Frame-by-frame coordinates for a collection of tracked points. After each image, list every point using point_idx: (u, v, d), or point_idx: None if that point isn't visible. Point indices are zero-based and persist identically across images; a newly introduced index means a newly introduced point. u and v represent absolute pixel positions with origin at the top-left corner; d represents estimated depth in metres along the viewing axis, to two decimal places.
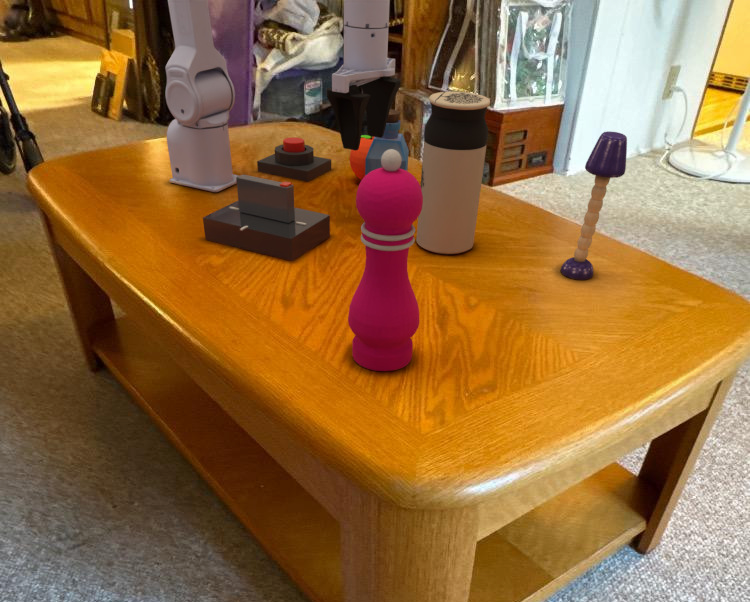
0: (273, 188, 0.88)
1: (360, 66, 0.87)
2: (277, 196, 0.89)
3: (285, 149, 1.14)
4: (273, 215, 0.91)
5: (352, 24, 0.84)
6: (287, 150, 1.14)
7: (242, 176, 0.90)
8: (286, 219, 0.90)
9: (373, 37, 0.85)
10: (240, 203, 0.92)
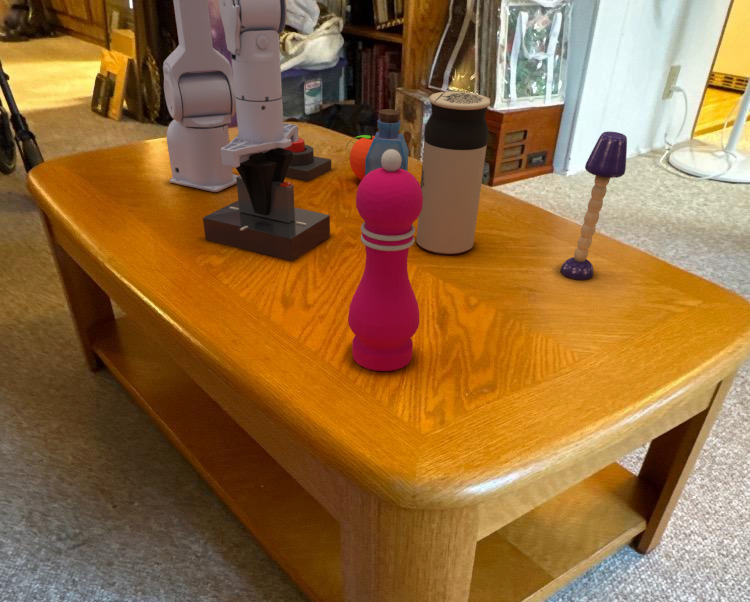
0: (273, 188, 0.88)
1: (253, 138, 0.83)
2: (277, 196, 0.89)
3: None
4: (273, 215, 0.91)
5: (234, 94, 0.82)
6: None
7: None
8: (286, 219, 0.90)
9: (264, 110, 0.81)
10: (240, 203, 0.92)
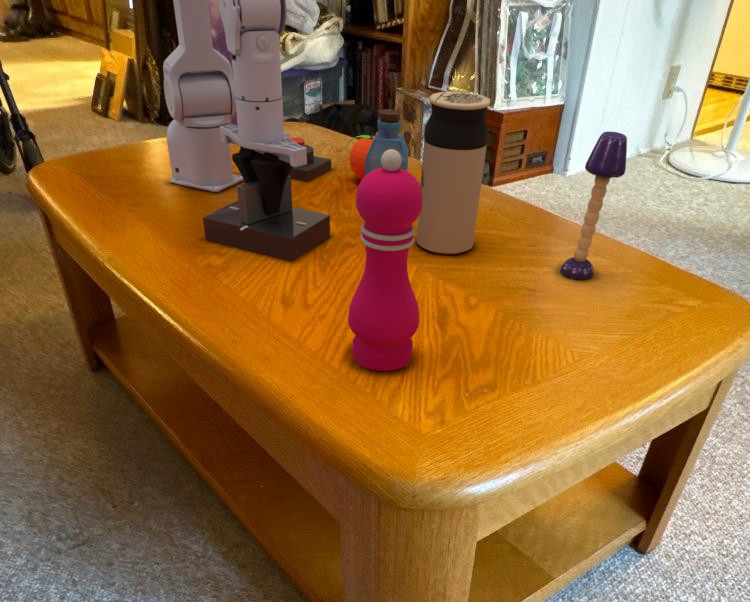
0: None
1: (280, 136, 0.84)
2: None
3: None
4: (279, 210, 0.92)
5: (235, 94, 0.82)
6: None
7: (244, 186, 0.87)
8: (290, 207, 0.93)
9: (281, 105, 0.83)
10: (249, 214, 0.89)
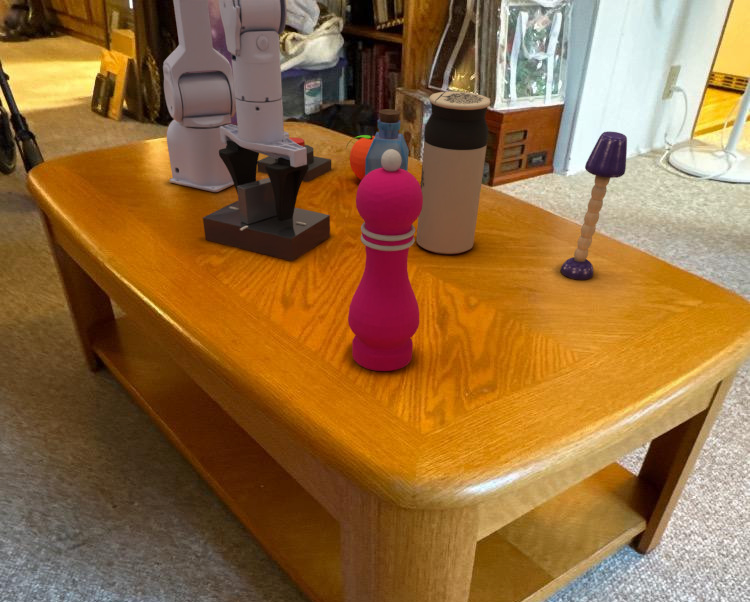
0: None
1: (279, 137, 0.84)
2: None
3: None
4: None
5: (235, 94, 0.82)
6: None
7: (244, 186, 0.87)
8: None
9: (281, 105, 0.83)
10: (249, 214, 0.89)
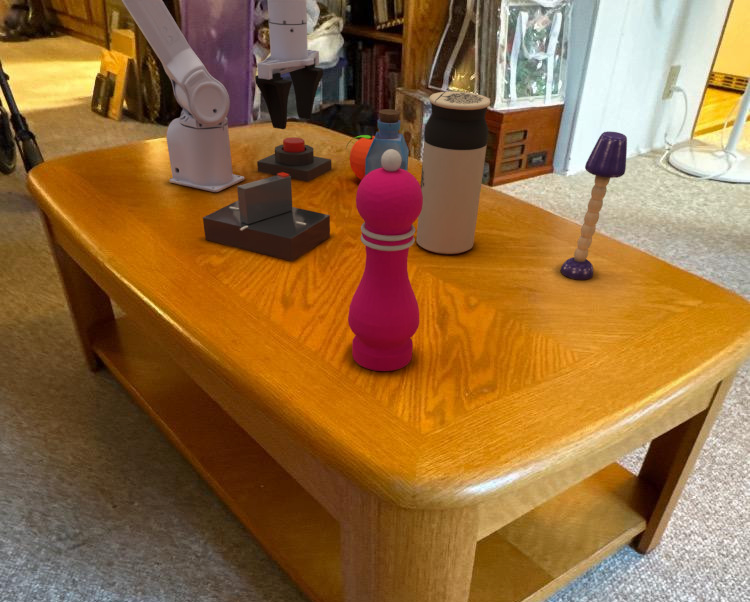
0: (279, 182, 0.90)
1: (283, 57, 1.02)
2: (282, 189, 0.91)
3: (285, 149, 1.14)
4: (279, 210, 0.92)
5: (291, 22, 0.99)
6: (287, 150, 1.14)
7: (244, 186, 0.87)
8: (290, 207, 0.93)
9: (292, 32, 1.00)
10: (249, 214, 0.89)
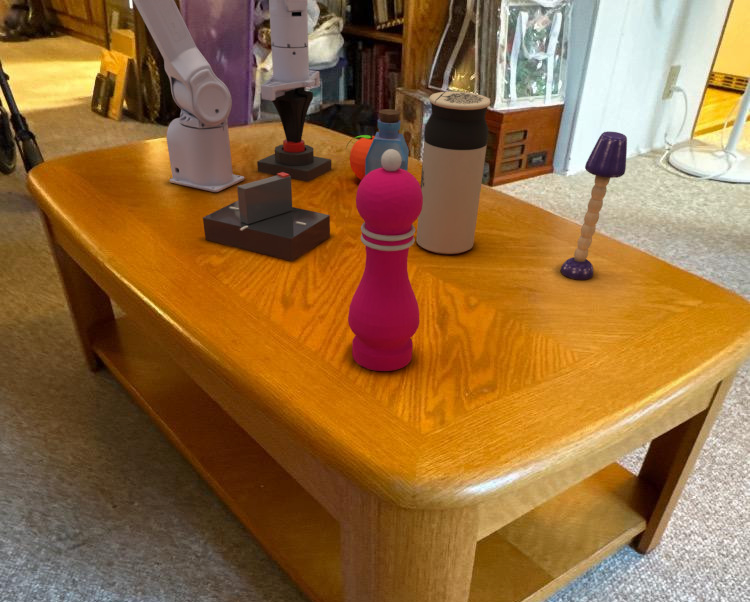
0: (279, 182, 0.90)
1: (285, 78, 1.06)
2: (282, 189, 0.91)
3: (285, 150, 1.14)
4: (279, 210, 0.92)
5: (295, 45, 1.03)
6: (287, 151, 1.14)
7: (244, 186, 0.87)
8: (290, 207, 0.93)
9: (294, 55, 1.04)
10: (249, 214, 0.89)
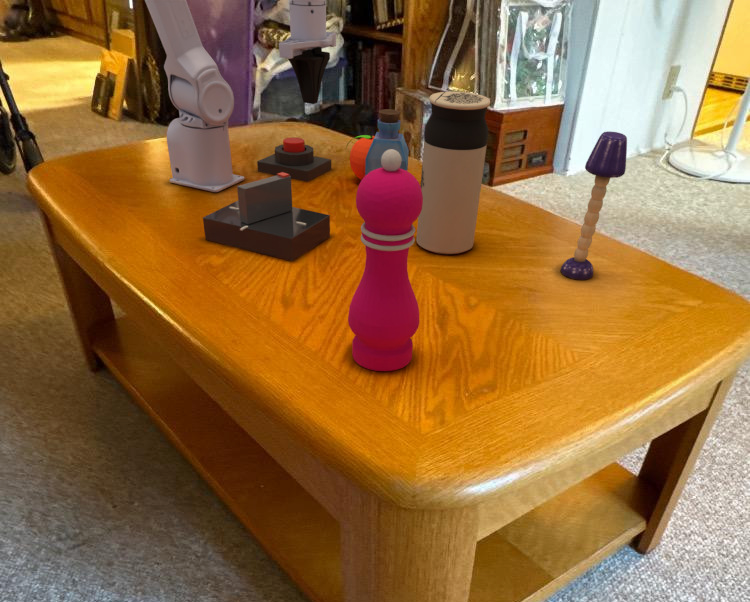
0: (279, 182, 0.90)
1: (303, 37, 1.06)
2: (282, 189, 0.91)
3: (285, 149, 1.14)
4: (279, 210, 0.92)
5: (315, 3, 1.03)
6: (287, 150, 1.14)
7: (244, 186, 0.87)
8: (290, 207, 0.93)
9: (312, 13, 1.04)
10: (249, 214, 0.89)
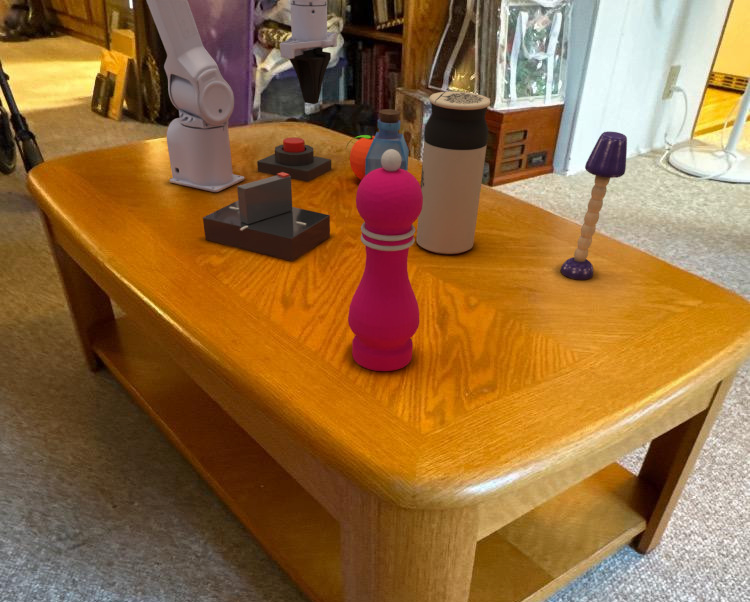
0: (279, 182, 0.90)
1: (304, 37, 1.06)
2: (282, 189, 0.91)
3: (285, 149, 1.14)
4: (279, 210, 0.92)
5: (317, 3, 1.04)
6: (287, 150, 1.14)
7: (244, 186, 0.87)
8: (290, 207, 0.93)
9: (314, 13, 1.05)
10: (249, 214, 0.89)
